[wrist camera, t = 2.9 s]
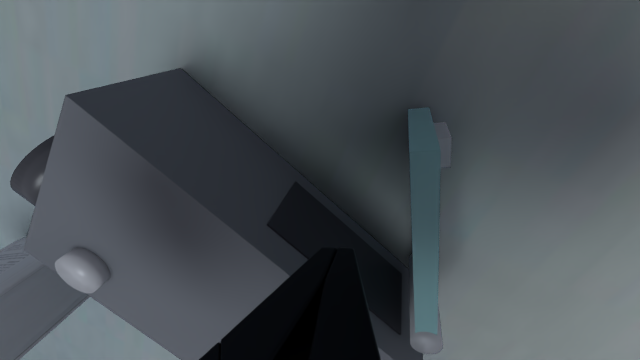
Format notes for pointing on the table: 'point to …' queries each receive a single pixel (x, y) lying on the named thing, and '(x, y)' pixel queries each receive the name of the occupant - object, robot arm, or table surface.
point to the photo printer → (30, 301)
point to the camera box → (187, 216)
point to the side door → (425, 226)
